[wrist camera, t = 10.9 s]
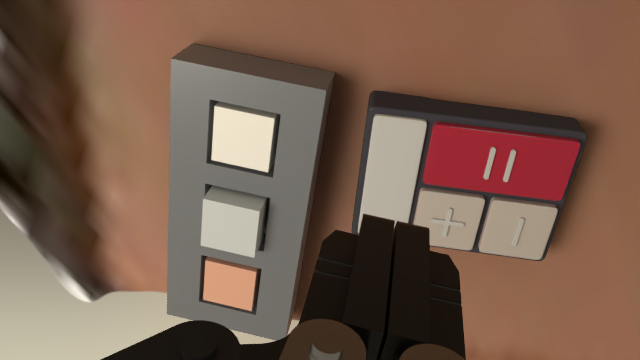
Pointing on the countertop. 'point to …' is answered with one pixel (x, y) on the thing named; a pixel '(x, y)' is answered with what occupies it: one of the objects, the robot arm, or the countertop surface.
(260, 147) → the white key
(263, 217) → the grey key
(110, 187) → the countertop surface
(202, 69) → the keypad
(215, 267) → the terracotta key
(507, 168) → the button control panel
